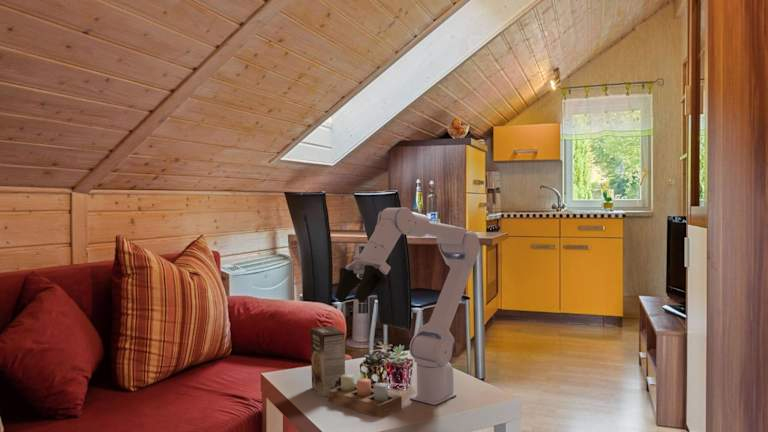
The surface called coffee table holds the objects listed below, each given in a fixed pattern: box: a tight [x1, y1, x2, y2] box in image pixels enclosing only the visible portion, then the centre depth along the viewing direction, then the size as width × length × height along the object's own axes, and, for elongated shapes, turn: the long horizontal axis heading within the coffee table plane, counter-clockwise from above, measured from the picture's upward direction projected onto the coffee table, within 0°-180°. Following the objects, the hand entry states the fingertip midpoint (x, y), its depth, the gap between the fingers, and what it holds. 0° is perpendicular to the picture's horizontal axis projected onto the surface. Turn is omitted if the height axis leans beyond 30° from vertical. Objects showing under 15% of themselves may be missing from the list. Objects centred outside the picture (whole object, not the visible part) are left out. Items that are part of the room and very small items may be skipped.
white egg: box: [373, 382, 389, 403], centre depth 140 cm, size 3×3×4 cm
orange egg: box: [356, 377, 372, 398], centre depth 144 cm, size 3×3×4 cm
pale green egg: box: [341, 373, 356, 393], centre depth 147 cm, size 3×3×4 cm
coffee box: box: [310, 325, 346, 398], centre depth 155 cm, size 9×6×16 cm
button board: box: [327, 383, 403, 418], centre depth 144 cm, size 17×8×3 cm, turn 48°
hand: (348, 299), depth 127 cm, fingers open, 7 cm apart
